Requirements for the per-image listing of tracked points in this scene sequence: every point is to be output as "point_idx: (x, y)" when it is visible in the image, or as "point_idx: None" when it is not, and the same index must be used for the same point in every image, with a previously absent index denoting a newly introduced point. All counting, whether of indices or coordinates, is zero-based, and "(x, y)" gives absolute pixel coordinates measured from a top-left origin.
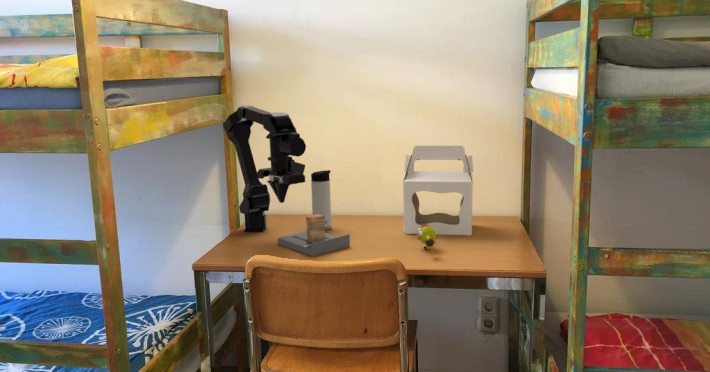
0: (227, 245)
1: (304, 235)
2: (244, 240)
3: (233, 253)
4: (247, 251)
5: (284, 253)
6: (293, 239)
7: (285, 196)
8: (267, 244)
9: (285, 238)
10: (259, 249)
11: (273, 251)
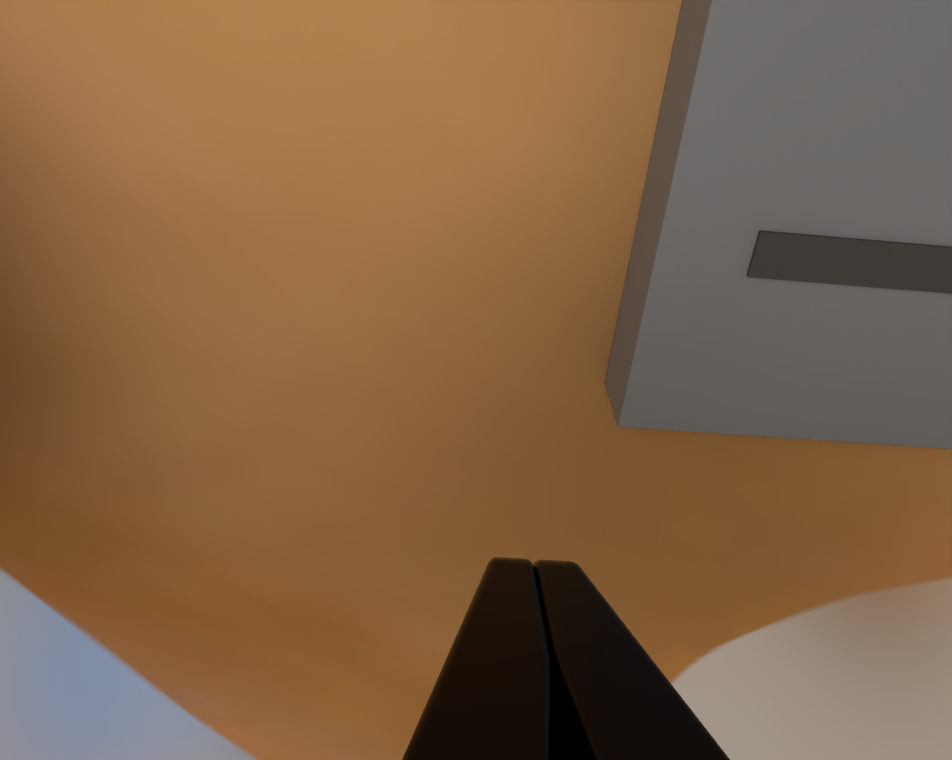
0: (218, 678)
1: (882, 110)
2: (163, 513)
3: None
4: None
5: (902, 525)
6: (858, 350)
7: (687, 710)
8: (505, 454)
9: (727, 384)
10: None
11: (754, 548)
